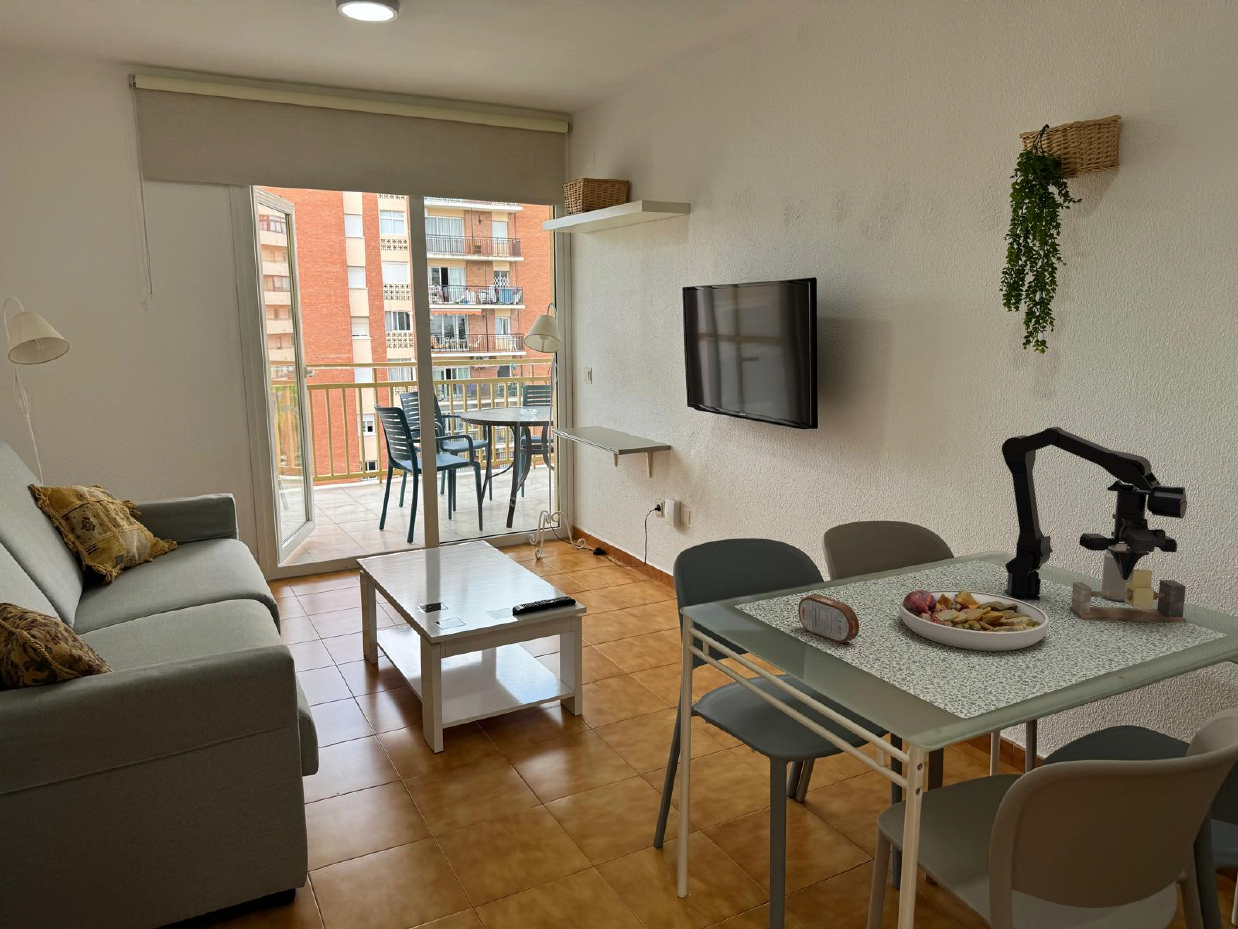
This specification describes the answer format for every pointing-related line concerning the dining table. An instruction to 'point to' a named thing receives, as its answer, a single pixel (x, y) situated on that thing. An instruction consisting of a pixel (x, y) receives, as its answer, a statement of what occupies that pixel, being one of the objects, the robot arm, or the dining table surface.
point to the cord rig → (1166, 611)
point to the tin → (828, 618)
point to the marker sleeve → (1140, 588)
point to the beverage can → (1112, 577)
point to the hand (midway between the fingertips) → (1124, 579)
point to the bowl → (973, 619)
